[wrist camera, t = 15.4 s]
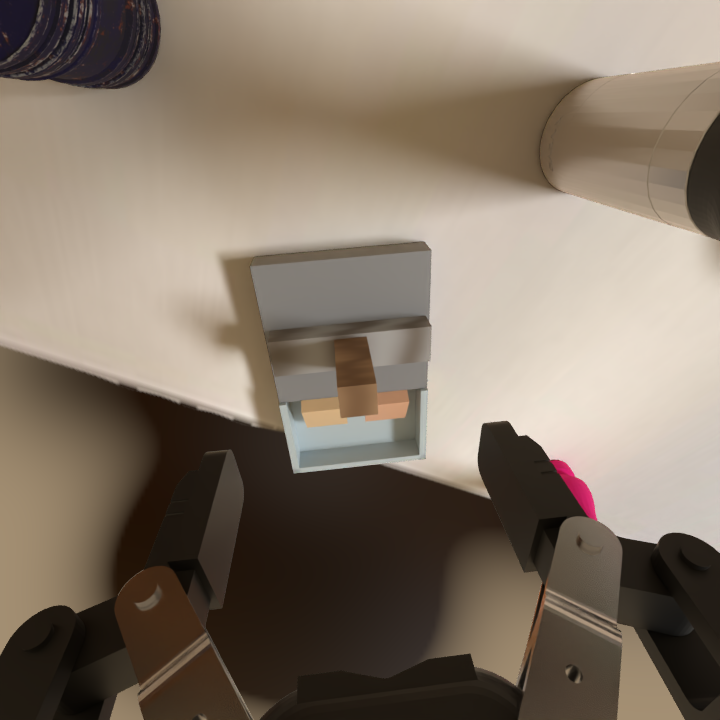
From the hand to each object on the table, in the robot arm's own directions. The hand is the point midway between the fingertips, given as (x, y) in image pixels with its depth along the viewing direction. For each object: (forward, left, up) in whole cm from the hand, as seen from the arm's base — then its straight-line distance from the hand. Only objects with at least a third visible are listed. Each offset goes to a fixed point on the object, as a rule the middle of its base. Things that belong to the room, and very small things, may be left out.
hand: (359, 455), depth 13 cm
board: (-1, +10, -30) cm, 32 cm away
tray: (-1, +24, -30) cm, 38 cm away
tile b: (+3, +20, -28) cm, 35 cm away
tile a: (-4, +20, -28) cm, 35 cm away
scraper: (-1, +11, -27) cm, 29 cm away
